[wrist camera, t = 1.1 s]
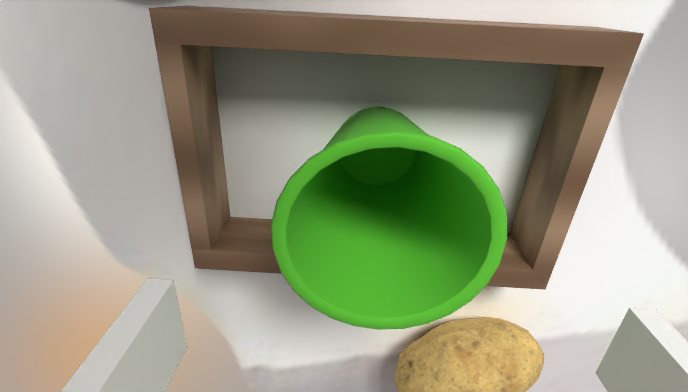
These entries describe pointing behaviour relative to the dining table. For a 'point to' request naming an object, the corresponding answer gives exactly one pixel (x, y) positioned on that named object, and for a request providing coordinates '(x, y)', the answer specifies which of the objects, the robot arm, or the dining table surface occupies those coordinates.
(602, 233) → the dining table surface
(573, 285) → the dining table surface
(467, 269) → the cup
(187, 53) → the pocket frame
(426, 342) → the potato
